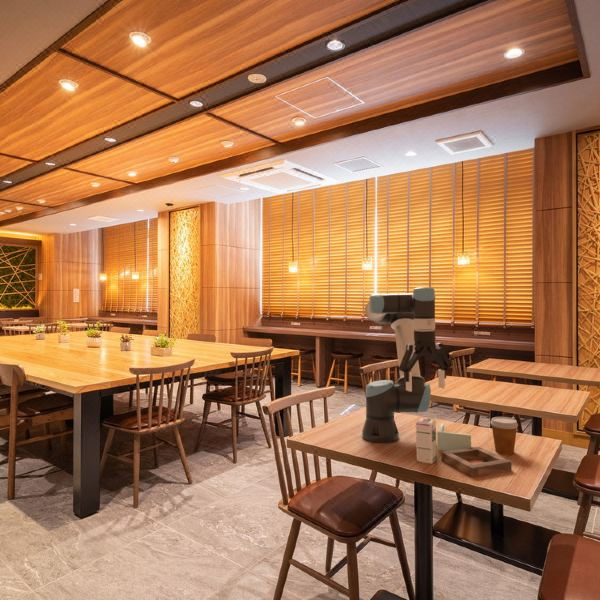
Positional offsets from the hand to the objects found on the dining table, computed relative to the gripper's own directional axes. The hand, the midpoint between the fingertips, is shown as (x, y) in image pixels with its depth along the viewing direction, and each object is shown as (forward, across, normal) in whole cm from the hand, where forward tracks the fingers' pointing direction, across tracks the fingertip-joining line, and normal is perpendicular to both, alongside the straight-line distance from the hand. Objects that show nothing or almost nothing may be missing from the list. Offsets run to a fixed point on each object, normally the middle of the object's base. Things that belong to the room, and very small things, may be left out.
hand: (425, 389), depth 158 cm
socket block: (+26, +13, -10) cm, 30 cm away
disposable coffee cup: (+26, +32, -3) cm, 41 cm away
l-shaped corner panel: (+26, +19, +8) cm, 33 cm away
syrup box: (+26, 0, 0) cm, 26 cm away
